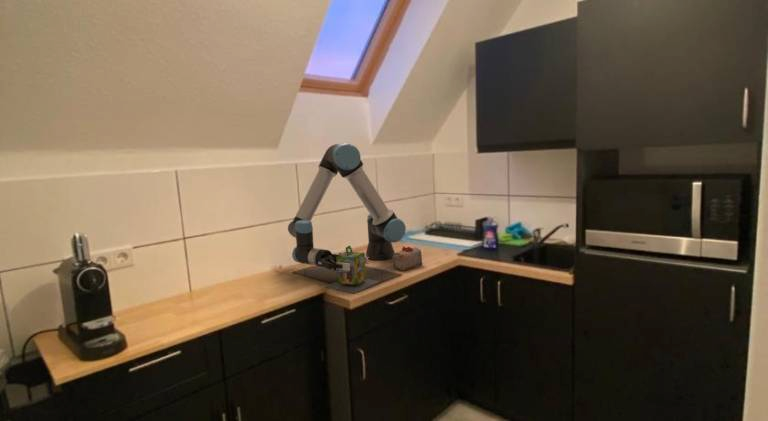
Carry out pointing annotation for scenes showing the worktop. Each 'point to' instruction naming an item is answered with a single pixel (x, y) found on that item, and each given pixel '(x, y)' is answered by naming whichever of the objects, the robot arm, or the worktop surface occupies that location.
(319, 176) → the robot arm
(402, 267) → the food item
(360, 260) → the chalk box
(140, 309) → the worktop surface
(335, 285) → the rubber mat
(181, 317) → the worktop surface
